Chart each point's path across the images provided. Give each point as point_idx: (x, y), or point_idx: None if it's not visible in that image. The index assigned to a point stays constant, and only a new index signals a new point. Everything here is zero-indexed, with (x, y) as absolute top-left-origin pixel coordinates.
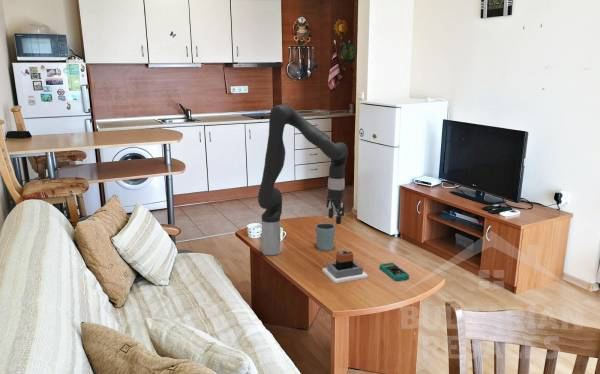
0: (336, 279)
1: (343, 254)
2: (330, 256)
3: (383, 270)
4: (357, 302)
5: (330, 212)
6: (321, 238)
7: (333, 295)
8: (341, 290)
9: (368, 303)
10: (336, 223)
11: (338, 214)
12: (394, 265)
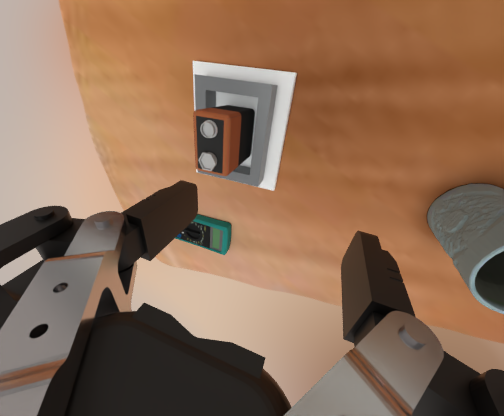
0: (200, 71)
1: (196, 129)
2: (381, 176)
3: (212, 220)
4: (94, 57)
5: (360, 289)
6: (493, 207)
7: (132, 5)
8: (155, 54)
9: (89, 83)
10: (182, 181)
11: (37, 221)
12: (213, 248)
